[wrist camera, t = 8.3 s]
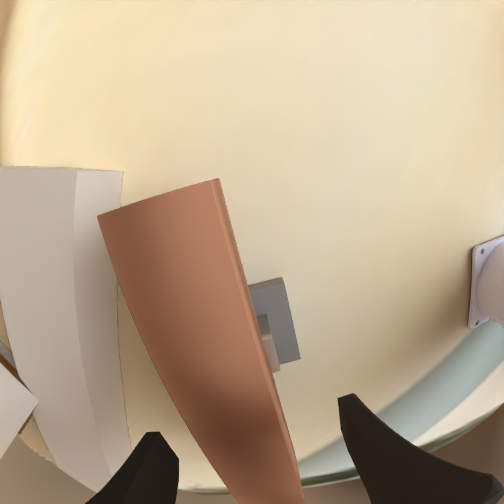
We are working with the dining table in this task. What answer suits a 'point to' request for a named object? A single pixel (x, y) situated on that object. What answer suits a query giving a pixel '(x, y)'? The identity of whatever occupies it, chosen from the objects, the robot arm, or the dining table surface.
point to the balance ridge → (275, 322)
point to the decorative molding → (65, 312)
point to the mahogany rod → (205, 335)
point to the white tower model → (12, 400)
